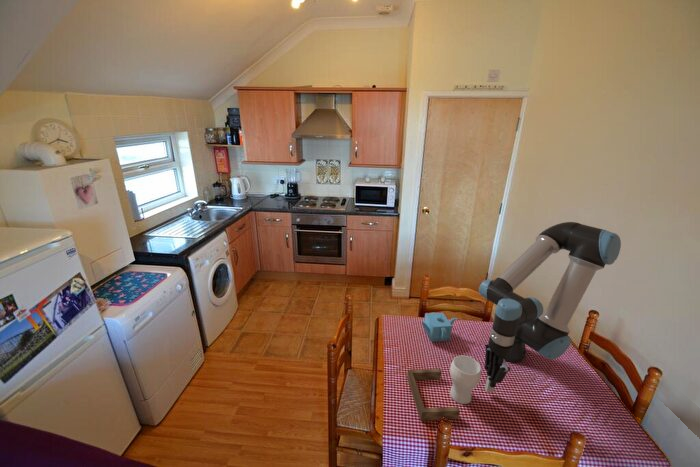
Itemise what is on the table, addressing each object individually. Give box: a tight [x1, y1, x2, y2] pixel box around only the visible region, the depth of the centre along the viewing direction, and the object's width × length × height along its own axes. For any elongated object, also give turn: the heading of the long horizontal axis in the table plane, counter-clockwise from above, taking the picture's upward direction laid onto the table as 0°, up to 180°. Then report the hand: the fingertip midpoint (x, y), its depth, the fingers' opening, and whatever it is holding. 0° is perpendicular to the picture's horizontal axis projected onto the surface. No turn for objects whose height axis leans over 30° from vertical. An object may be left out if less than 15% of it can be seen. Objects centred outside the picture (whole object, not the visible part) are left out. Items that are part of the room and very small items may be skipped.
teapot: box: [420, 312, 458, 343], centre depth 145 cm, size 16×18×11 cm
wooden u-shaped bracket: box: [406, 368, 461, 422], centre depth 113 cm, size 14×19×4 cm
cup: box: [449, 354, 482, 405], centre depth 112 cm, size 11×11×15 cm
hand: (488, 390), depth 115 cm, fingers closed
